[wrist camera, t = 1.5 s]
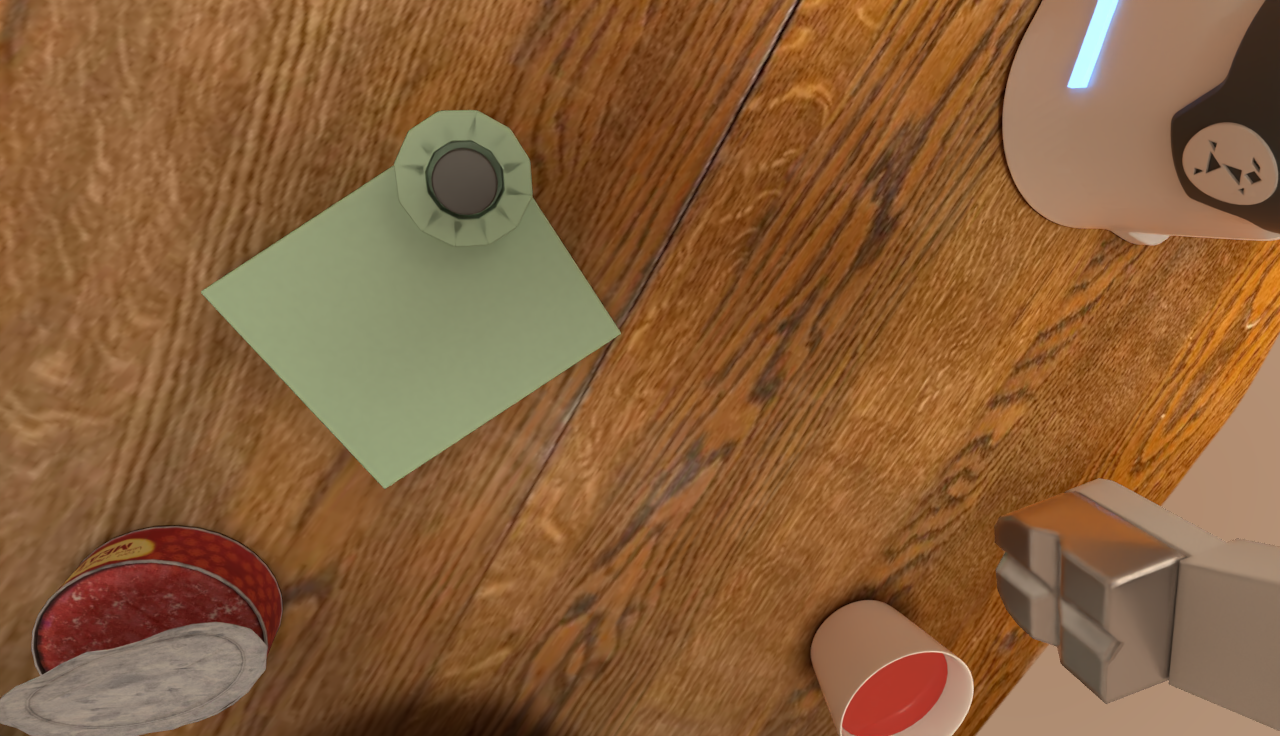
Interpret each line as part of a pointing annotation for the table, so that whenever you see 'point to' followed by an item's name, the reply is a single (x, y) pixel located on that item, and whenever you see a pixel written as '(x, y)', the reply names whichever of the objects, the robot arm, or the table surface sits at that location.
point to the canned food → (148, 637)
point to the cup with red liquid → (888, 674)
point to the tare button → (464, 181)
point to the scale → (418, 303)
